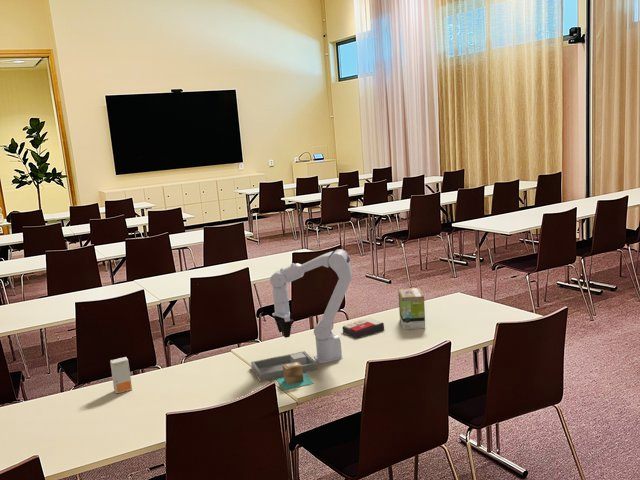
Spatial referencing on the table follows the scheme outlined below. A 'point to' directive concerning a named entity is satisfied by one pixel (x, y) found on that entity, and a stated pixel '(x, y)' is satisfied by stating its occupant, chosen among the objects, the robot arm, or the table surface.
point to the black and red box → (363, 327)
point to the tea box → (411, 308)
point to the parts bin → (278, 366)
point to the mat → (290, 386)
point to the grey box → (298, 358)
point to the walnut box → (293, 373)
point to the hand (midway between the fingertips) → (284, 334)
